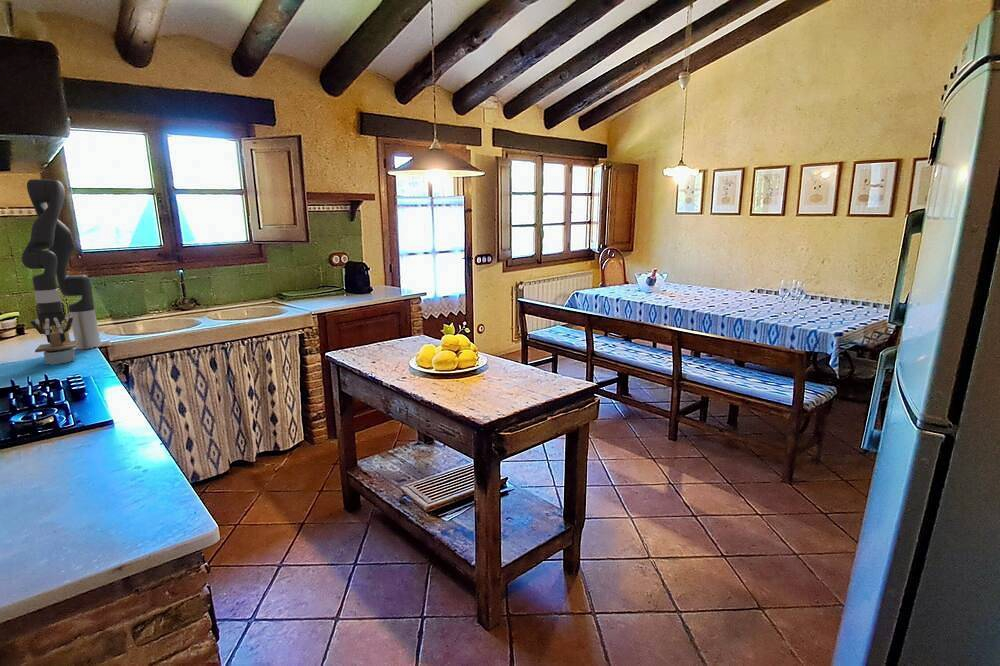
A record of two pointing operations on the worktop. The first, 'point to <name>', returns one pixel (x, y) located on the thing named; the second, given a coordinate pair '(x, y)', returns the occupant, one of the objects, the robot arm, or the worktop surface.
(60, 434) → the worktop surface
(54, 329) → the vase
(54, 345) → the lid
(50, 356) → the bowl
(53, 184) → the robot arm
